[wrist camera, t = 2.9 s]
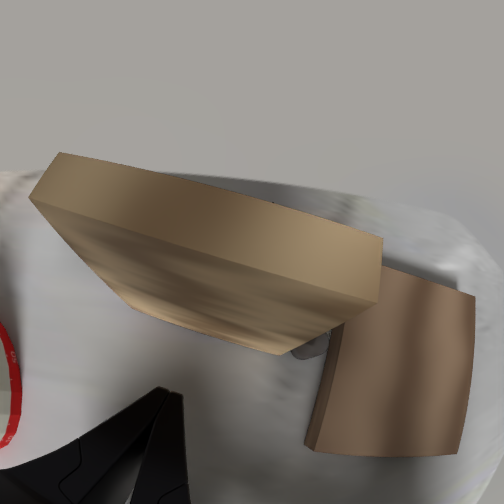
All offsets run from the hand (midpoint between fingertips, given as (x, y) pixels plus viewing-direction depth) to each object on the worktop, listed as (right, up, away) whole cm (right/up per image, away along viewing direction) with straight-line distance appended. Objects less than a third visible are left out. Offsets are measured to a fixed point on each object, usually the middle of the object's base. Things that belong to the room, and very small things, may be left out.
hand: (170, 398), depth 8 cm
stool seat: (+14, -5, +12) cm, 19 cm away
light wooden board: (+1, -1, +12) cm, 12 cm away
